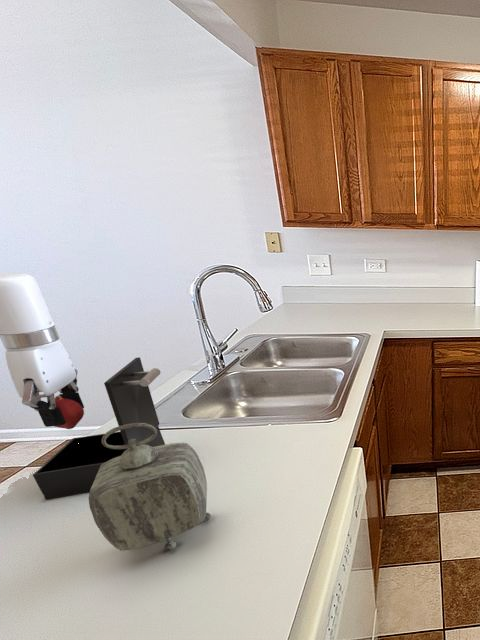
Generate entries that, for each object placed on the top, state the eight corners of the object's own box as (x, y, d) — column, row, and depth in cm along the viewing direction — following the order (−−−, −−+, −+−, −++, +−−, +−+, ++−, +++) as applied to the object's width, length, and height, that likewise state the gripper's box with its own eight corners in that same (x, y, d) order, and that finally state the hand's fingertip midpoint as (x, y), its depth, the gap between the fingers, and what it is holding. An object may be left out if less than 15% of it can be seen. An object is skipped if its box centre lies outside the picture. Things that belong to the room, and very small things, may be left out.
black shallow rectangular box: (45, 500, 83) (32, 475, 81) (83, 460, 95) (73, 438, 93) (142, 483, 88) (132, 459, 85) (166, 447, 100) (158, 425, 98)
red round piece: (44, 433, 84) (29, 400, 81) (76, 420, 89) (62, 388, 86) (65, 437, 83) (50, 403, 80) (95, 423, 88) (82, 391, 85)
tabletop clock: (218, 510, 80) (181, 402, 70) (218, 541, 73) (177, 426, 63) (126, 541, 73) (72, 425, 63) (117, 578, 66) (54, 455, 56)
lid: (103, 382, 79) (137, 380, 80) (135, 357, 91) (164, 355, 93) (129, 457, 85) (160, 453, 87) (155, 424, 97) (182, 421, 99)
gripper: (36, 326, 84) (68, 401, 91) (-31, 355, 69) (14, 442, 76) (80, 323, 87) (108, 397, 93) (24, 351, 71) (63, 436, 78)
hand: (65, 416), depth 85 cm, fingers closed on red round piece, 5 cm apart
